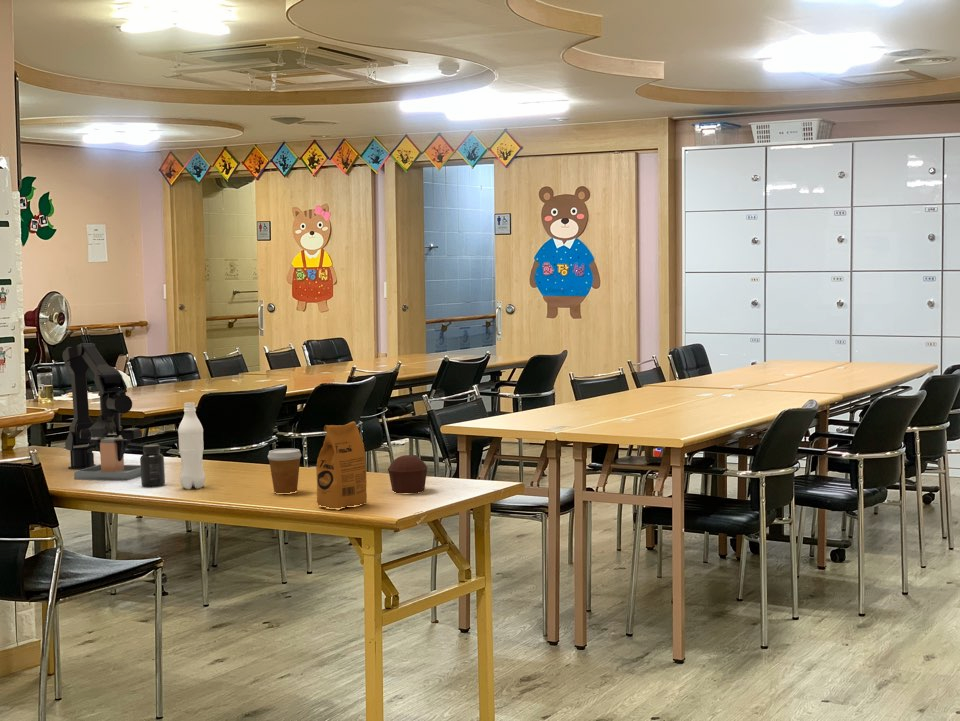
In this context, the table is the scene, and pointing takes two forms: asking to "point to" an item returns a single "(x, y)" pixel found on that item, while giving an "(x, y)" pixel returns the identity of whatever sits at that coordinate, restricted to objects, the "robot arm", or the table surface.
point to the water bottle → (191, 448)
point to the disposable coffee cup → (284, 469)
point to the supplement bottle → (152, 467)
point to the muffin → (407, 474)
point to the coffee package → (341, 468)
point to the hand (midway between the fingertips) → (112, 460)
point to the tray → (108, 473)
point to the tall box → (110, 456)
